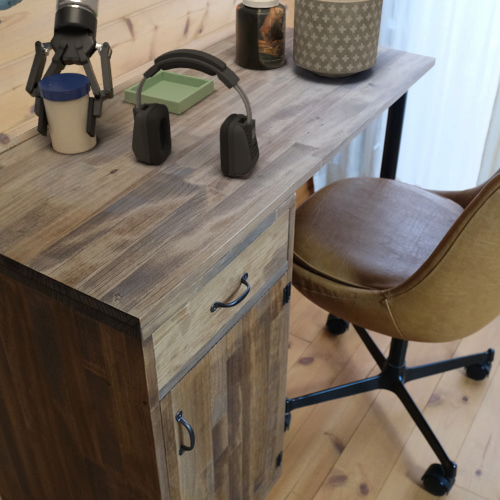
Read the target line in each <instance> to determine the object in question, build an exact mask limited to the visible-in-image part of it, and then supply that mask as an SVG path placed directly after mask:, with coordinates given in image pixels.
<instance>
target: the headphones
mask: <svg viewBox="0 0 500 500" xmlns="http://www.w3.org/2000/svg"><path fill="white" fill-rule="evenodd" d="M174 69H189V70H194V71H197V72H201V73H203V74H206V75H207V76H210V77H215V76H216V78H217V79H218V80H219V81H220V82H221V83H222V84H223V85H224V86H225V87H226V88H227V89H228V90H230V89H232V88H233V89H234V90H235V91H236V92H237V93H238V95H239V97H240V99H241V100H242V102H243V104H244V107H245V113H246V114H243V113H231V114H229V115H228V116H227V117H226V118H225V119H224V121H223V122H222V123H221V124H220V127H219V154H220V155H219V160H220V170H221V172H222V174H224V175H225V176H229V177H234V178H235V177H244V176H247V175H248V174H250V173H251V171H252V170H253V169H254V168H255V166H256V164H257V163H258V161H259V158H260V147H259V144H258V137H257V133H256V118H255V119H254V118H253V111H252V106H251V102H250V100H249V97H248V95H247V93H246V92H245V90H244V88H243V87H242V86H241V85H240V84H239V82H240V77H239V76H238V75H237V74H236V72H235V71H234V70H232V69H231V68H230V67H229V66H228V64H227V63H226V62H225V61H223V60H222V59H221V58H219V57H216V56H215V55H214V54H211V53H208V52H205V51H203V50H199V49H193V48H177V49H173V50H169V51H166V52H164V53H162V54H160V55H159V56H157V57H156V58H154V60H153V65H152V66H150V67H149V68H148V69H146V71H144V72H143V73H142V76H143V77H142V78H141V80H140V81H139V82H140V83H139V82H138V83H139V85H138V87H137V91H136V104H135V106H134V107H132V115H133V128H132V139H131V150H132V154H133V155H134V156H135V158H136V159H137V160H139V161H140V162H145V163H146V164H150V165H152V164H154V165H159V164H161V163H162V162H163V161H165V159H166V158H167V157H168V156H169V154H170V153H171V151H172V131H171V119H170V118H171V117H170V112H169V111H168V108H167V106H166V105H164V104H159V103H150V104H147V103H144V104H143V105H142V104H141V92H142V87H143V85H144V83H145V81H146V79H148V78H151V77H153V76H154V75H155V74H156V73H158V72H159V71H160V70H164V71H170V70H174ZM138 102H139V103H138Z"/></svg>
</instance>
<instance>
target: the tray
mask: <svg viewBox="0 0 500 500" xmlns="http://www.w3.org/2000/svg"><path fill="white" fill-rule="evenodd" d="M214 81H215V80H213V79H209V78H203V77H199V76H194V75H189V74H184V73H179V72H176V71H175V72H174V71H170V70H165V71H164V70H162V69H161V70H160V71H159V72H158V73H156V74H155V75H154V76H153V77H151V78H148V79H146V81H145V83H144V85H143V87H142V92H141V104H142V105H143V104H144V103H147V104H150V103H159V104H164V105H166V106H167V108H168V111H169V113H172V114H176V115H180V114H183V113H184V112H185V111H187V110H189V109H190V108H191V107H193V106H194V105H196V104H197V103H199V102H201V101H202V100H203V99H204V98H206V97H208V96H209V95H212V93H214V92H215V83H214ZM139 83H140V81H138V82H137V83H135V84H133V85H131V86H129V87H127V88H126V89H124V90H123V93H124V103H130V104H134V105H136V91H137V87H138V85H139ZM138 103H139V102H138Z"/></svg>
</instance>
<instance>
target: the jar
mask: <svg viewBox="0 0 500 500" xmlns="http://www.w3.org/2000/svg"><path fill="white" fill-rule="evenodd" d="M286 31H287V11H286V7H285V5H284V4H282V3H281V2H280V0H242V1H241V2H240V3H238V4H237V5H236V6H235V62H236V64H237V65H239V66H240V67H243V68H246V69H250V70H259V71H260V70H261V71H263V70H264V71H265V70H274V69H277V68H280V67H282V66H283V65H284V64H285V61H286V38H287V37H286Z"/></svg>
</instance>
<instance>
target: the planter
mask: <svg viewBox="0 0 500 500" xmlns="http://www.w3.org/2000/svg"><path fill="white" fill-rule="evenodd" d="M383 4H384V0H294V5H293V6H294V9H293V36H292V37H293V38H292V39H293V40H292V61H293V62H294V63H295V64H296V65H297V66H298V67H301V68H302V69H305V70H308V71H309V72H311V73H313V74H315V75H317V76H320V77H325V78H332V79H339V78H345V77H349V76H353V75H355V74H357V73H360V72H363V71H367V70H369V69H371V68H372V67H374V66H375V65H376V63H377V57H378V48H379V41H380V32H381V31H380V30H381V21H382V13H383Z"/></svg>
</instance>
